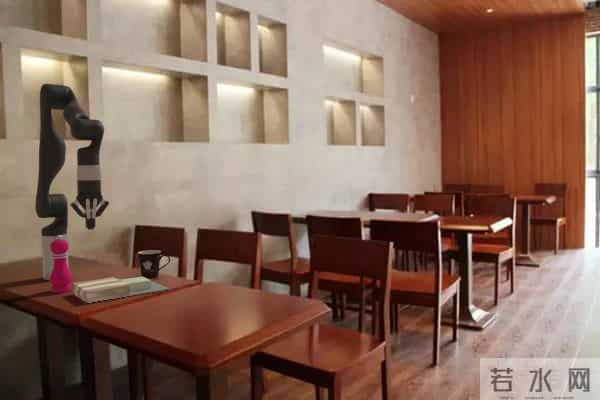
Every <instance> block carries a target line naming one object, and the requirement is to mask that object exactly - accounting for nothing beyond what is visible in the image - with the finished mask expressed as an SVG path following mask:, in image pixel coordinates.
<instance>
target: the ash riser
mask: <svg viewBox="0 0 600 400" xmlns="http://www.w3.org/2000/svg"><path fill="white" fill-rule="evenodd" d="M120 280H121V279H119V278H117V277H106V278H100V279H92V280H85V281H84V280H83V281H78V282H77V281H76V282H73V285H72V286H73V287H72V289H73V290H72V291H73V295H74V296H76V297H77V298H78V299H80V300H81V301H83V302H84V301H85V302H84V303H85V304H87V303H90V304H93V303H92V302H96V303H98V302H97V301H102V300H108V301H110V300H109V299H114V298H120V297H126V298H128V297H127V296H130V285H129V284H127V283H125V282H123V281H120ZM120 299H121V298H120ZM114 300H115V299H114ZM102 302H103V301H102Z"/></svg>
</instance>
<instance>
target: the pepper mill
mask: <svg viewBox="0 0 600 400" xmlns="http://www.w3.org/2000/svg"><path fill="white" fill-rule="evenodd" d="M56 238H57V240H55V241H53V242H52V243H51V245H50V249H51V251H52V252H53V254H52V255H53V257H52V258H54V266H53V270H52V272H51V275H50V280H49V282H50V284H51V285H52V287H51V293H53V294H54V293H55V294H63V293H69V292H70V291H72V285H71V282H72V280H73V275H72V272H71V271H70V267H69V268H68V266H67V261H66V258H67V257H68V258H69V252H68V253H66V252H67V250H68V251H69V249H70V248H69V247H70V245H69V242H67V241H65V240H62V236H61V235H58V236H57V237H56ZM67 254H68V256H67Z"/></svg>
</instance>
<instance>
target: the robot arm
mask: <svg viewBox="0 0 600 400" xmlns="http://www.w3.org/2000/svg"><path fill="white" fill-rule="evenodd" d="M52 110H54V111H55V110H57V111H58V110H59V111H63V113H62V114H63V115H62V116H63V118H64V121H66V123H67V124H68V126H69V127H70V135H71V137H72V138H73V139H74V140H78V141H90V144H89V145H88V146H83V147H80V148H77V151H76V164H77V165H76V166H77V168H76V187H77V188H76V189H77V194H76V197H75V200H74V201H73V202H69V204H68V199H67V196H66V194H64V193H50V189H51V185H52V183H53V182H54V179H55V178H56V177H57V175H58V174H59V173H60V171H61V170H62V168H63V167H64V165H65V162H66V156H67V155H66V153H67V152H66V151H67V145H66V142H65V140H64V138H63V136H62V135H61V133H60V132H59V130H58V129H57V127H56V125H55V123H54V120H53V116H52ZM39 115H40V116H39V118H40V130H39V131H40V132H39V146H38V147H39V148H38V179H37V187H36V194H35V204H34V205H35V213H36V215H37V217H38V218H40V219H50V218H54V220H53V221H52V222H51V223H50V224H48V225H45V226H43V227H42V228H41V232H40V233H41V251H42V253H41V254H42V272H43V273H42V274H43V276H42V277H43V280H45V281H50V275H51V272H52V270H53V266H54V258H52V257H53V255H52V254H53V252H52V251H51V249H50V245H51V243H52V242H53V241H55V240H57V238H56V237H57V236H58V235H61V236H62V240H65V241H67V242H68V228H69V225H68V224H69V220H68V219H69V216H68V215H69V213H68V211H69V206H70V207H71V208H72V209H73V211H74V212H75V213H76V214H77V215H78V216H79V217H81V218H83V219H85V228H86V229H87V230H89V231H90V230H91V231H92V230H94V229H95V228H96V218H98V217H101V215H102V214H103V212H104V211H106V208H107V207H108V206H109V205H110V202H109V201H108V200H106V199H104V198H103V195H102V175H101V174H102V173H101V167H100V151H101V146H102V142H103V138H104V134H105V127H104V124H103V122H102V121H101V120H99V119H90V116H89V115H88V113H86V111H85V110H84V109H83V108H82V107H81V106H80V103H79V101H78V98H77V96H76V94H75V92H74V91H73V89H72V88H71V87H70V86H68V85H65V84H63V85H62V84H52V83H43V84H42V85H41V87H40V91H39ZM99 205H100V206H99ZM80 206H81V207H82V208H83V211H82V210H81V208H79V207H80ZM97 208H98V209H97ZM68 243H69V242H68ZM66 253H68V254H67V256H68V257H67V258H66V261H67V266H68V268H69V269H70V266H69V263H70V262H69V249H68V250H67V252H66Z"/></svg>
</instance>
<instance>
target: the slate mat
mask: <svg viewBox="0 0 600 400" xmlns="http://www.w3.org/2000/svg"><path fill="white" fill-rule="evenodd" d="M165 290H168V291H170V288H169V287H166V286H164V285H162V284H159V283H158V282H156V281H155V282H154V281H153V280H151V289H146V290H140V291H134V292H130V296H132V297H134V296H133V295H138V296H141V295H140V294H144V295H147V294H146V293H150V294H153V293H152V292H156V293H159V292H158V291H162V292H166V291H165Z"/></svg>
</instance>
